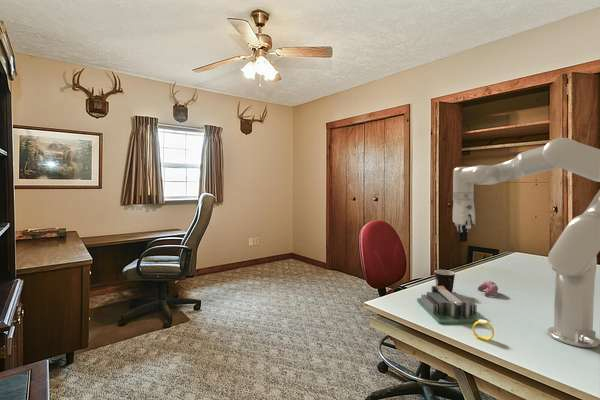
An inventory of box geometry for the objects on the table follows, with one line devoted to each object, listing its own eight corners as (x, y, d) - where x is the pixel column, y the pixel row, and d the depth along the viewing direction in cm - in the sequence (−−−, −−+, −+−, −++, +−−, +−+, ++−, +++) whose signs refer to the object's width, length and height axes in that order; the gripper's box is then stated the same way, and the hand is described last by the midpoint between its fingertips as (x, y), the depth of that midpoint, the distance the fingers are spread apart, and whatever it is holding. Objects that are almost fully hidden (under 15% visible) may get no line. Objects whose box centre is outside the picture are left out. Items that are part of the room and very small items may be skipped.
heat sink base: (486, 323, 113) (486, 304, 113) (439, 323, 113) (439, 304, 113) (456, 301, 135) (456, 285, 135) (417, 301, 135) (417, 285, 135)
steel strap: (463, 306, 115) (463, 302, 115) (455, 306, 115) (455, 302, 115) (442, 289, 133) (442, 286, 133) (435, 289, 133) (435, 286, 133)
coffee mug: (435, 289, 151) (435, 269, 151) (455, 292, 147) (455, 271, 146) (432, 296, 141) (432, 274, 141) (453, 300, 137) (453, 277, 137)
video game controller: (494, 300, 140) (502, 287, 139) (484, 295, 141) (492, 282, 140) (485, 293, 150) (492, 281, 149) (476, 288, 150) (483, 276, 150)
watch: (472, 338, 103) (471, 320, 103) (473, 335, 105) (472, 317, 105) (493, 342, 99) (492, 323, 99) (494, 339, 102) (493, 320, 102)
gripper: (482, 197, 121) (481, 244, 122) (463, 196, 136) (462, 238, 136) (463, 197, 121) (462, 244, 122) (445, 196, 136) (445, 238, 137)
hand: (462, 241), depth 129 cm, fingers closed
